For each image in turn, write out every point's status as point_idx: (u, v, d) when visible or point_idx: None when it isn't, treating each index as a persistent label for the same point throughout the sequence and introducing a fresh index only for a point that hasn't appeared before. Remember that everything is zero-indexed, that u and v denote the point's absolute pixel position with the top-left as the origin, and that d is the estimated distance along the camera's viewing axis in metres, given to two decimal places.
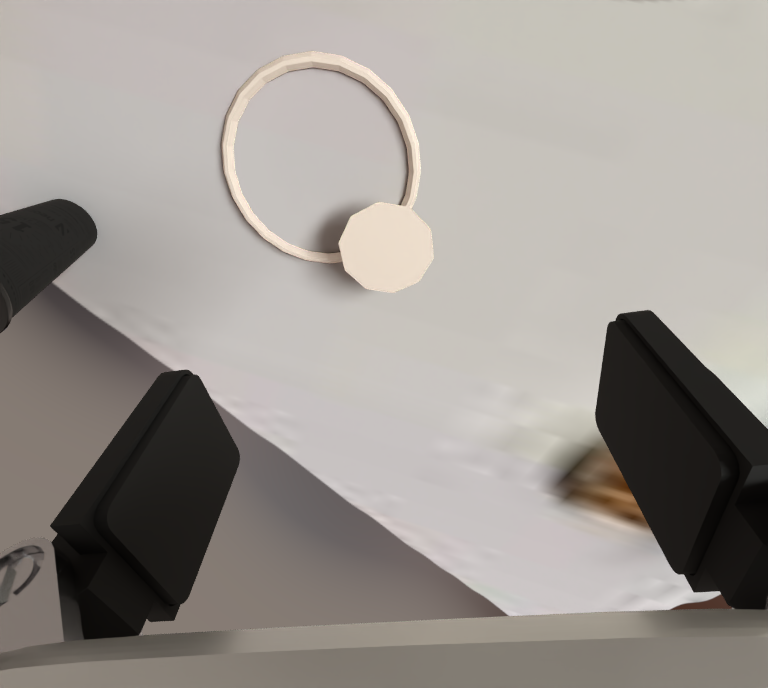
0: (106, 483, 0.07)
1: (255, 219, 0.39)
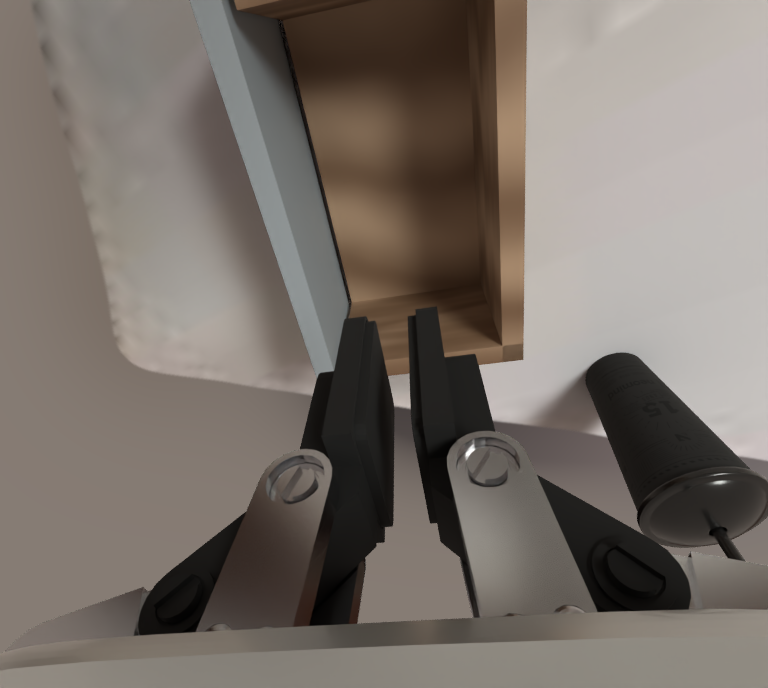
0: (354, 403, 0.08)
1: None
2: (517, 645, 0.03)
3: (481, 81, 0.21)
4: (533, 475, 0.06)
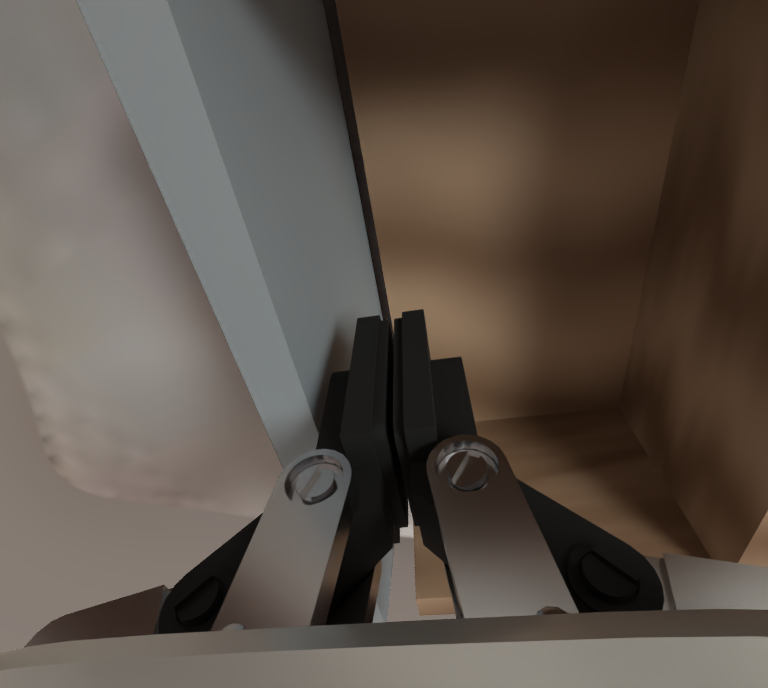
0: (372, 402, 0.08)
1: None
2: (517, 645, 0.03)
3: None
4: (512, 477, 0.06)
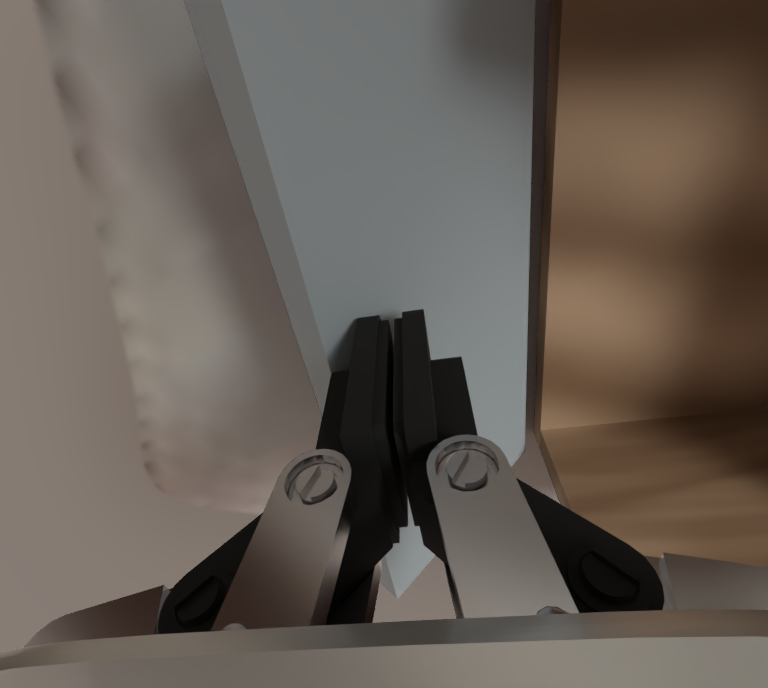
0: (372, 402, 0.08)
1: None
2: (517, 645, 0.03)
3: None
4: (512, 477, 0.06)
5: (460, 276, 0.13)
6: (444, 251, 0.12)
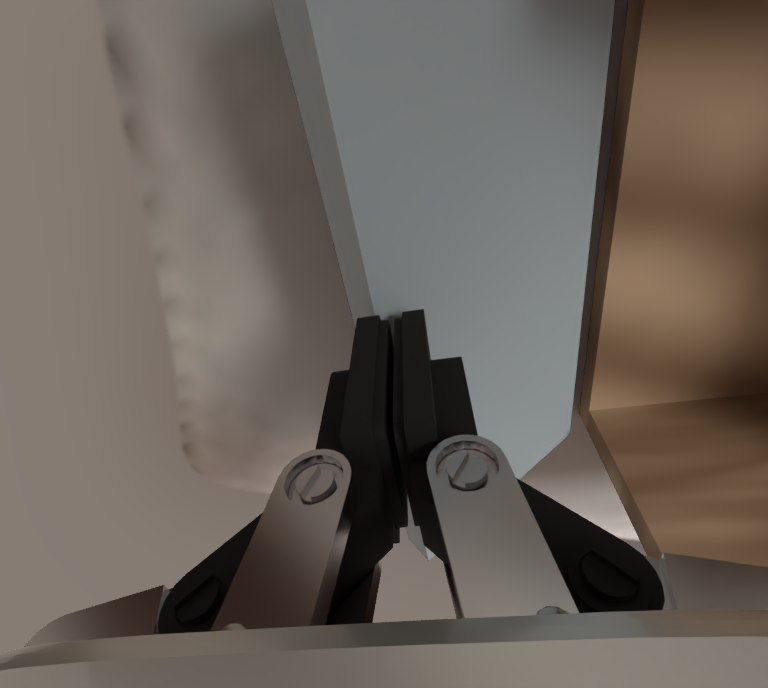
0: (371, 402, 0.08)
1: None
2: (517, 646, 0.03)
3: None
4: (512, 477, 0.06)
5: (515, 244, 0.12)
6: (500, 216, 0.12)
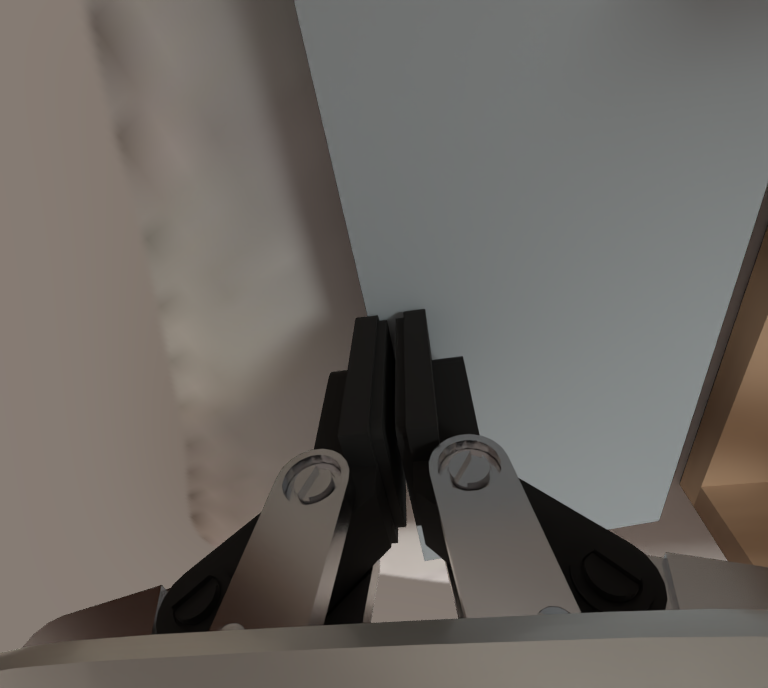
0: (369, 403, 0.08)
1: None
2: (517, 645, 0.03)
3: None
4: (514, 477, 0.06)
5: (579, 279, 0.10)
6: (555, 243, 0.10)
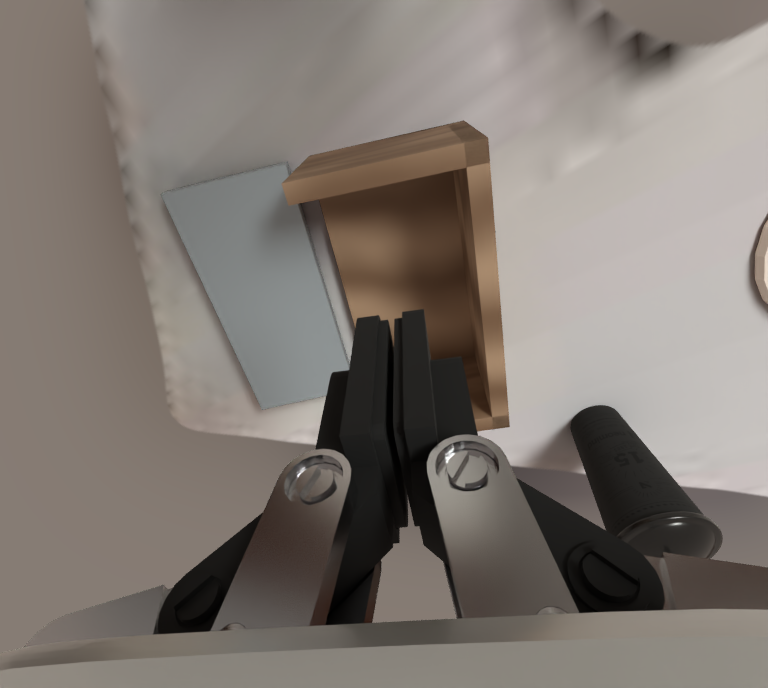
0: (371, 402, 0.08)
1: None
2: (517, 645, 0.03)
3: (465, 225, 0.28)
4: (512, 477, 0.06)
5: (274, 292, 0.34)
6: (262, 282, 0.34)
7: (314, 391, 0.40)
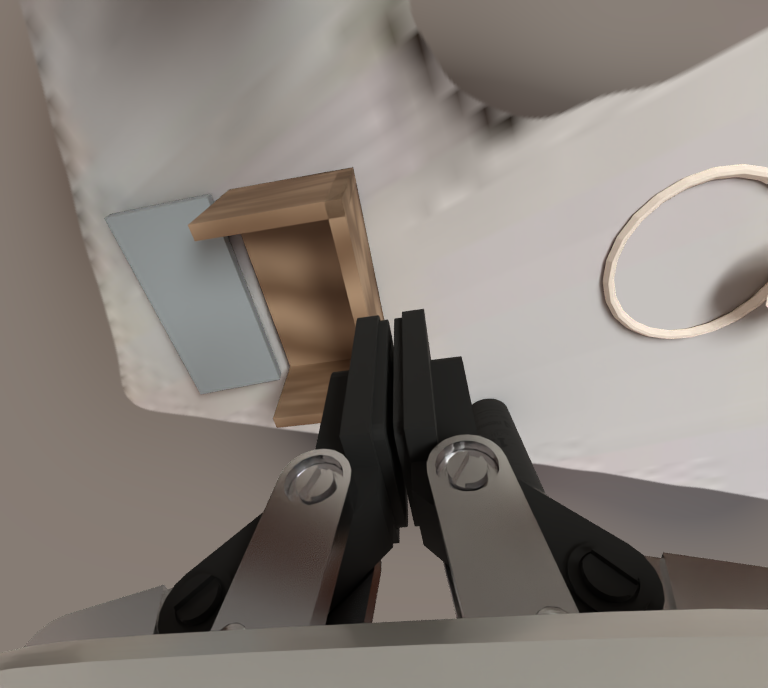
0: (371, 402, 0.08)
1: (654, 330, 0.44)
2: (517, 645, 0.03)
3: None
4: (512, 477, 0.06)
5: (204, 298, 0.41)
6: (194, 289, 0.41)
7: (244, 380, 0.47)
